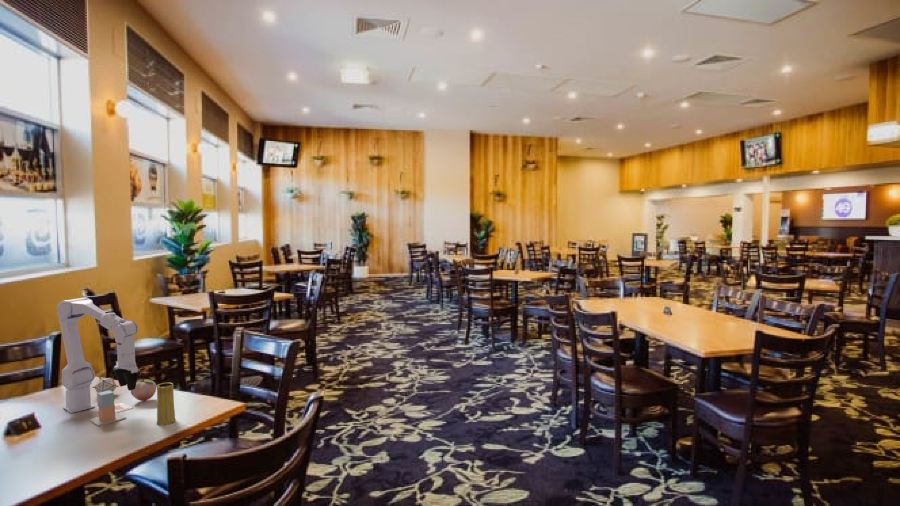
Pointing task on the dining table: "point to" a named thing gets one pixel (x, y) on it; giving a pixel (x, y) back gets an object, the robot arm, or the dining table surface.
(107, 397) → the brick blue
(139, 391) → the decorative fruit
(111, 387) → the game die
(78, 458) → the dining table surface
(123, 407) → the card
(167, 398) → the vase
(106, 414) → the brick terracotta
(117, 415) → the plate
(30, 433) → the dining table surface
